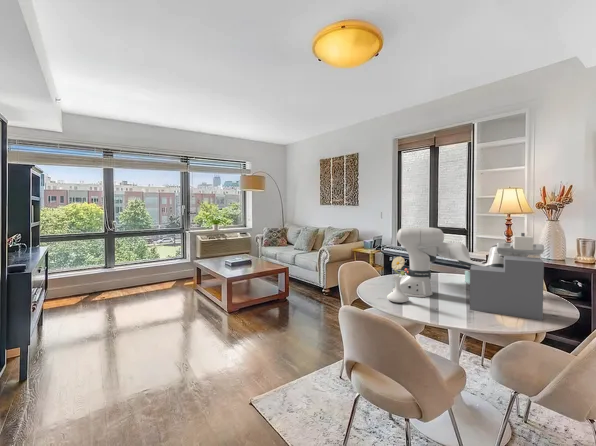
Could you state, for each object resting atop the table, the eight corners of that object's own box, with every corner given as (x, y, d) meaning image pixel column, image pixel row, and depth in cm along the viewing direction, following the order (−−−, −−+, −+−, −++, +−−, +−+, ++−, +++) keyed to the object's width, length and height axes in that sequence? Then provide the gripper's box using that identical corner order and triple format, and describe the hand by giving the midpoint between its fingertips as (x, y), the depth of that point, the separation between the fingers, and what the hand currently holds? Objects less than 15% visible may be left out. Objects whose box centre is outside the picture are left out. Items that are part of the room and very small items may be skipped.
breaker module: (511, 244, 158) (511, 230, 158) (528, 245, 154) (528, 231, 154) (514, 249, 142) (514, 233, 142) (533, 250, 138) (533, 234, 138)
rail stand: (470, 302, 156) (471, 253, 155) (538, 312, 141) (539, 258, 140) (469, 309, 146) (470, 257, 145) (542, 320, 131) (544, 262, 130)
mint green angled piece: (494, 285, 190) (494, 274, 189) (476, 286, 189) (476, 274, 188) (481, 281, 202) (481, 270, 201) (464, 281, 201) (464, 270, 200)
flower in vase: (383, 298, 166) (383, 254, 165) (402, 297, 167) (403, 253, 166) (393, 305, 153) (393, 258, 152) (414, 304, 154) (414, 257, 153)
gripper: (542, 259, 156) (546, 249, 146) (496, 256, 167) (497, 246, 157) (542, 248, 159) (546, 237, 148) (496, 246, 170) (497, 236, 159)
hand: (520, 242), depth 153 cm, fingers closed on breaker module, 3 cm apart
